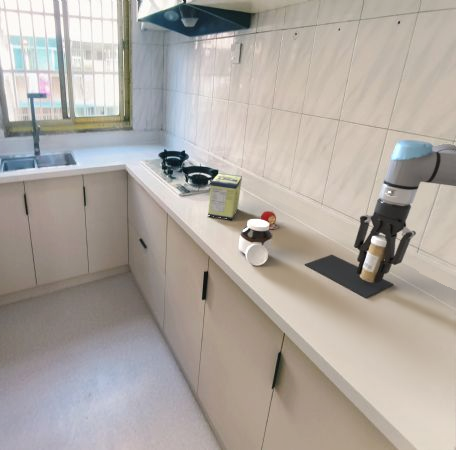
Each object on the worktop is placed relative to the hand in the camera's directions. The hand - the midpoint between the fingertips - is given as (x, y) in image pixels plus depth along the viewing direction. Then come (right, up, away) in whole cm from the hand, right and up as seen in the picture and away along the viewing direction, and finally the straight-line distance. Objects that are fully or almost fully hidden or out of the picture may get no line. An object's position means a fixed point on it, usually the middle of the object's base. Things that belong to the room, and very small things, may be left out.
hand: (368, 276), depth 98 cm
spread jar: (-29, +4, +14) cm, 33 cm away
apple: (-17, +14, +39) cm, 45 cm away
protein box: (-32, +20, +50) cm, 63 cm away
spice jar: (0, -1, 0) cm, 1 cm away
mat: (-3, 0, +6) cm, 7 cm away
